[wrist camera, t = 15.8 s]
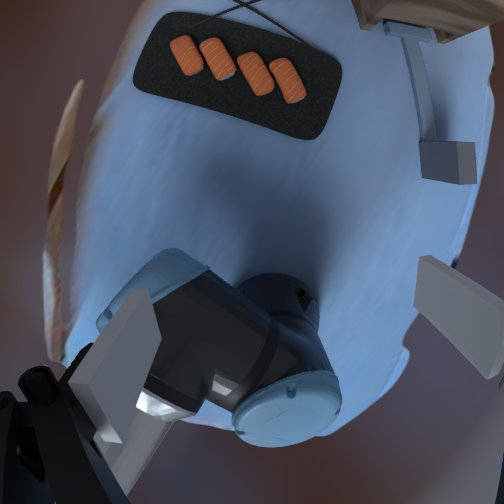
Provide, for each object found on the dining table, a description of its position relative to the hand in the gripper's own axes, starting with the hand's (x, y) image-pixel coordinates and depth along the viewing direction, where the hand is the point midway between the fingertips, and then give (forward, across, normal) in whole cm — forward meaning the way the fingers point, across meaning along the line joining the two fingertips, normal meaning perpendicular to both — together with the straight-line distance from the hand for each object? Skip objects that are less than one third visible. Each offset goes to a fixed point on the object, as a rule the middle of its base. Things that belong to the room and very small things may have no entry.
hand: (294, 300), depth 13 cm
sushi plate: (+31, -2, -27) cm, 41 cm away
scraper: (+30, -29, -16) cm, 45 cm away
